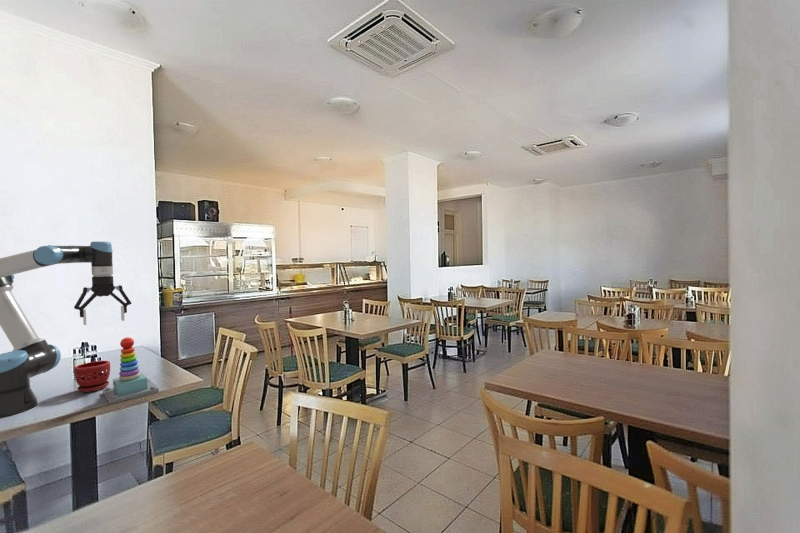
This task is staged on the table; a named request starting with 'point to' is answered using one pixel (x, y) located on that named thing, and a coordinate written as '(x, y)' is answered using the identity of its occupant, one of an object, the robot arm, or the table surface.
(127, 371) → the stacking toy
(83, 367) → the plant pot
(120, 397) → the baseplate
